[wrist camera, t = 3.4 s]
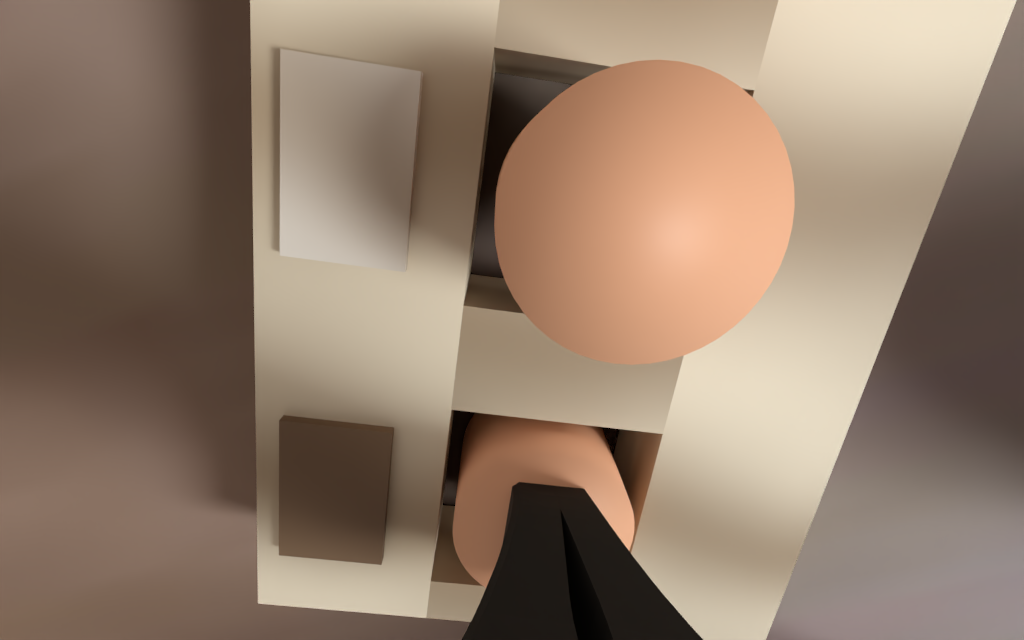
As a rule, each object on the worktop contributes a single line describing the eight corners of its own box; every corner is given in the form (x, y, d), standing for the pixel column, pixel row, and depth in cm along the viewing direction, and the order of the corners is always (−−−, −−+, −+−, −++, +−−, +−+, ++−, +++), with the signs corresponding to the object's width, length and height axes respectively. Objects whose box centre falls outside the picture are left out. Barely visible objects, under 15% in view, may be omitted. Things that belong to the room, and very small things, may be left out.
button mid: (673, 313, 9) (745, 379, 6) (483, 288, 9) (477, 347, 6) (724, 109, 8) (836, 87, 5) (510, 74, 8) (517, 33, 5)
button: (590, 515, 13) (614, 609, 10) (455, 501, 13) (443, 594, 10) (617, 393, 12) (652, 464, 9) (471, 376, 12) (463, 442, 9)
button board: (718, 564, 14) (767, 655, 11) (300, 523, 13) (253, 611, 10) (1017, -331, 8) (1244, -542, 6) (319, -493, 7) (230, -818, 5)
